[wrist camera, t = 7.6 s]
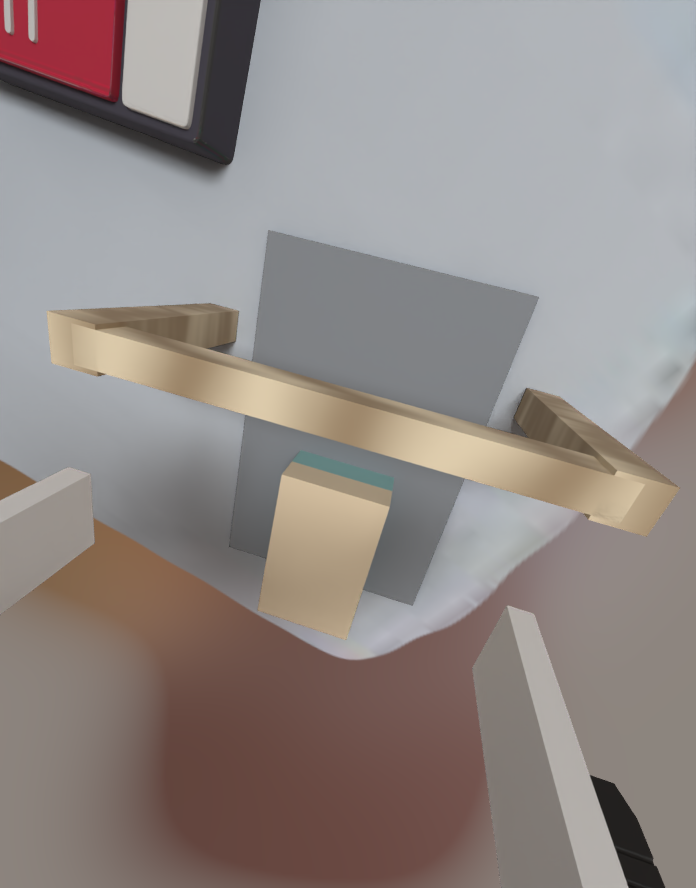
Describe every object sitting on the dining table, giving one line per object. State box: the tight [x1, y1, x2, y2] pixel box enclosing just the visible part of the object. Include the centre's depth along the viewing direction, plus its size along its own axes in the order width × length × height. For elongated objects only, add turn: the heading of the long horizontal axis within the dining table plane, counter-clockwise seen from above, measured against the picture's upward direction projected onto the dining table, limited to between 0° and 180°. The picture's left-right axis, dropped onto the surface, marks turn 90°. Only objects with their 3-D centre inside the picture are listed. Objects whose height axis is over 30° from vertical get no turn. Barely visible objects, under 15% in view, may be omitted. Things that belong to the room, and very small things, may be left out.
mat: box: [229, 230, 539, 606], centre depth 26 cm, size 16×24×1 cm, turn 167°
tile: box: [258, 450, 394, 640], centre depth 27 cm, size 7×12×4 cm, turn 167°
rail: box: [47, 303, 680, 536], centre depth 19 cm, size 23×2×12 cm, turn 77°
